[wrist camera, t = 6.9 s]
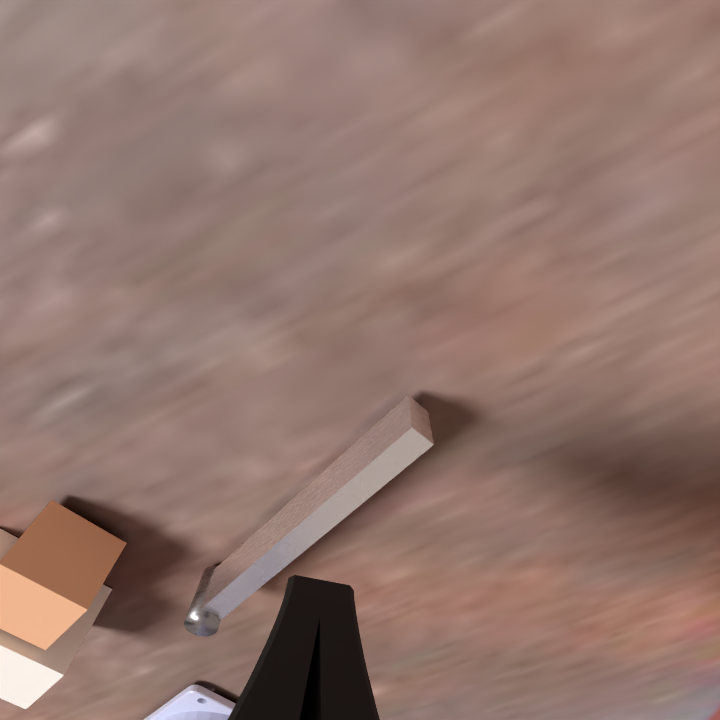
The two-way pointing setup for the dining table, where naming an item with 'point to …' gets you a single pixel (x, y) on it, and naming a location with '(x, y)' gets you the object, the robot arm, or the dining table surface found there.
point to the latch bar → (312, 513)
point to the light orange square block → (53, 574)
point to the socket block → (40, 651)
